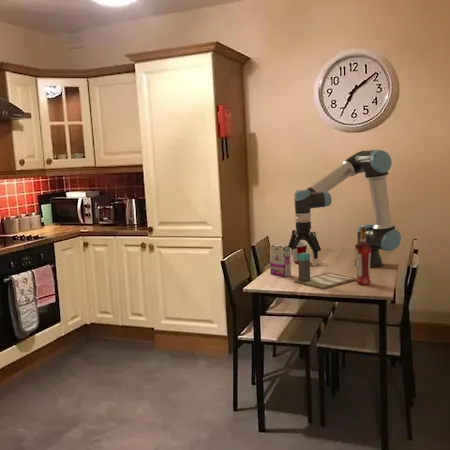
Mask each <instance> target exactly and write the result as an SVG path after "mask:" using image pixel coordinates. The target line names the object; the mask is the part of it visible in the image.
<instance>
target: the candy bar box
mask: <svg viewBox="0 0 450 450" xmlns="http://www.w3.org/2000/svg"><path fill="white" fill-rule="evenodd" d="M288 245H289V244H288ZM288 245H287V244H280V243H279V244H278V243H273V244H270V245H269V264H270V265H269V270H270V275H272V274H273V275H272V276H278V277H284V278H286V277H287V278H288V277H290V276H292V271H291V269H292V268H291V248H290V247H288Z"/></svg>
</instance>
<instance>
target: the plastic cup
mask: <svg viewBox="0 0 450 450" xmlns="http://www.w3.org/2000/svg"><path fill="white" fill-rule="evenodd" d="M308 245H309V244H308V242H307V241H300V242H299V244H298V245H297V247H296V248H295V249H297V258H298V254H299V253H307V247H308ZM293 263H294V264H295V265H298V261H296V262H293Z"/></svg>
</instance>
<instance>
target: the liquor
mask: <svg viewBox="0 0 450 450" xmlns="http://www.w3.org/2000/svg"><path fill="white" fill-rule="evenodd" d="M365 231H366V227H360V243H358V242H357V243H356V244H355V245H354V246H355V249H354V250H355V251H354V252H355V259H356V265H355V266H356V278H357V280H356V281H355V282H356V283H357V284H358V285H360V286H368V285H369V284H370V283H371V282H372V281H371V267H370V258H371V245H369V244H368V243H366V236H365Z"/></svg>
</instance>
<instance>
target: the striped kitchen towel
mask: <svg viewBox="0 0 450 450" xmlns="http://www.w3.org/2000/svg"><path fill="white" fill-rule="evenodd" d="M356 281H357V277H352V276H347V275H343V274H338V273H337V274H336V273H333V272H324V273H322V274H318V275H314V276H310V281H308V282H301V281H299V279H298V280H295V281H294V280H293V283H294V284H299V285H302V286H306V287H311V288H315V289H320V290H326V289H330V288H334V287H337V286H341V285H344V284H348V283H351V282H356Z"/></svg>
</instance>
